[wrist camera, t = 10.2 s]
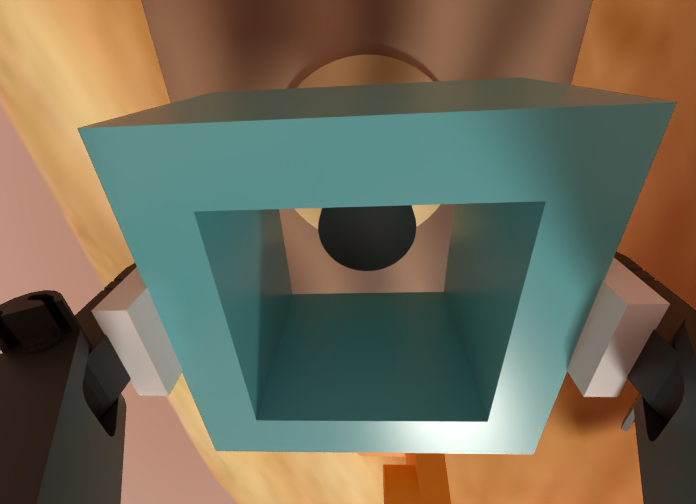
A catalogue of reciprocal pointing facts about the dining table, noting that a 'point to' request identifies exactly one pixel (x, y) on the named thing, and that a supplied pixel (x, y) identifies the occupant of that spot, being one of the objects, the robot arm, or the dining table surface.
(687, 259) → the dining table surface
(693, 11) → the dining table surface
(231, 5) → the post base
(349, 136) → the collar
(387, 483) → the bracket
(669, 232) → the dining table surface
